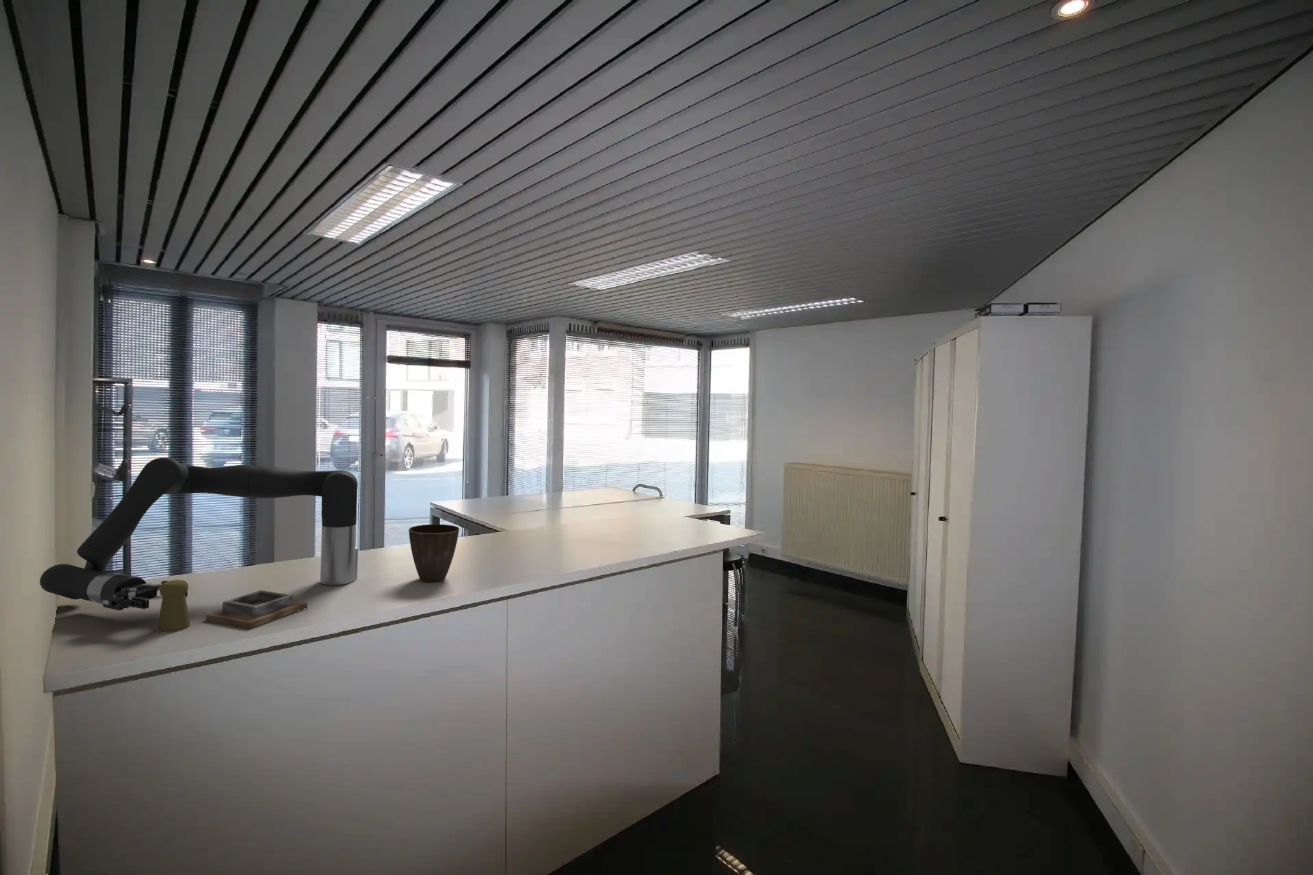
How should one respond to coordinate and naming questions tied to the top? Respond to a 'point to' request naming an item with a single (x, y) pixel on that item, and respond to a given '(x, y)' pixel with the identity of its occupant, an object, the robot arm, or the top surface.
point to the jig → (255, 609)
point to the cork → (173, 607)
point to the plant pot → (433, 550)
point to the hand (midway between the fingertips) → (167, 598)
